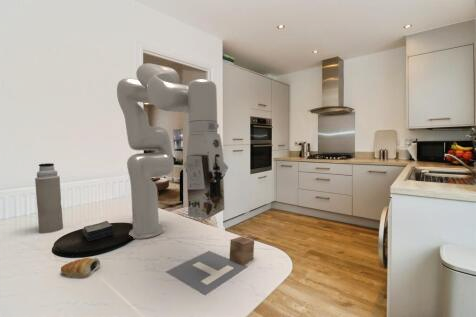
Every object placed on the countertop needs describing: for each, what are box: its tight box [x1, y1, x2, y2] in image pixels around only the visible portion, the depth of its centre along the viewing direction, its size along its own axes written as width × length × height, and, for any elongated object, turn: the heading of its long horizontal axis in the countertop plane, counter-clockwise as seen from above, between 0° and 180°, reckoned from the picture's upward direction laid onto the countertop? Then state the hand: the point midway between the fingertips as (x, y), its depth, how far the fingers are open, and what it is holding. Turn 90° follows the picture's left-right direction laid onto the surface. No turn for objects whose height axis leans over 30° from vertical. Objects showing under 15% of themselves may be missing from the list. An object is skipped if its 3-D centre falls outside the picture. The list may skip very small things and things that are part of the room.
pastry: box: [60, 257, 101, 279], centre depth 67 cm, size 9×7×4 cm
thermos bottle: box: [34, 162, 64, 234], centre depth 99 cm, size 8×8×28 cm
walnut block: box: [228, 236, 255, 266], centre depth 71 cm, size 5×5×6 cm
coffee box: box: [185, 155, 225, 220], centre depth 65 cm, size 9×6×16 cm
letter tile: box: [165, 250, 248, 296], centre depth 66 cm, size 16×16×1 cm
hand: (204, 194), depth 64 cm, fingers closed on coffee box, 7 cm apart
